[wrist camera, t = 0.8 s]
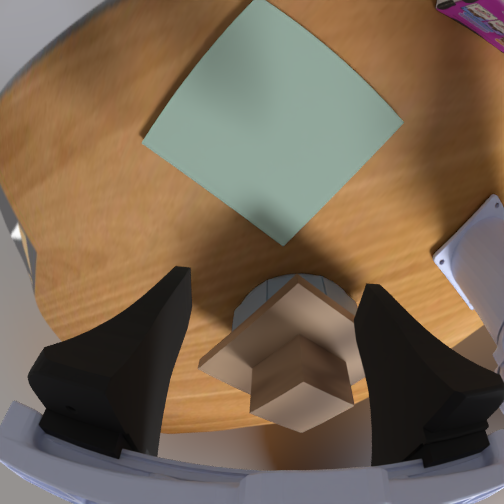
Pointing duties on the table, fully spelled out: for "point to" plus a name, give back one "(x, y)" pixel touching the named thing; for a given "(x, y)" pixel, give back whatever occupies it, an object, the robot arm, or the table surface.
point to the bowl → (273, 285)
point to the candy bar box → (478, 17)
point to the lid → (292, 357)
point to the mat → (272, 122)
